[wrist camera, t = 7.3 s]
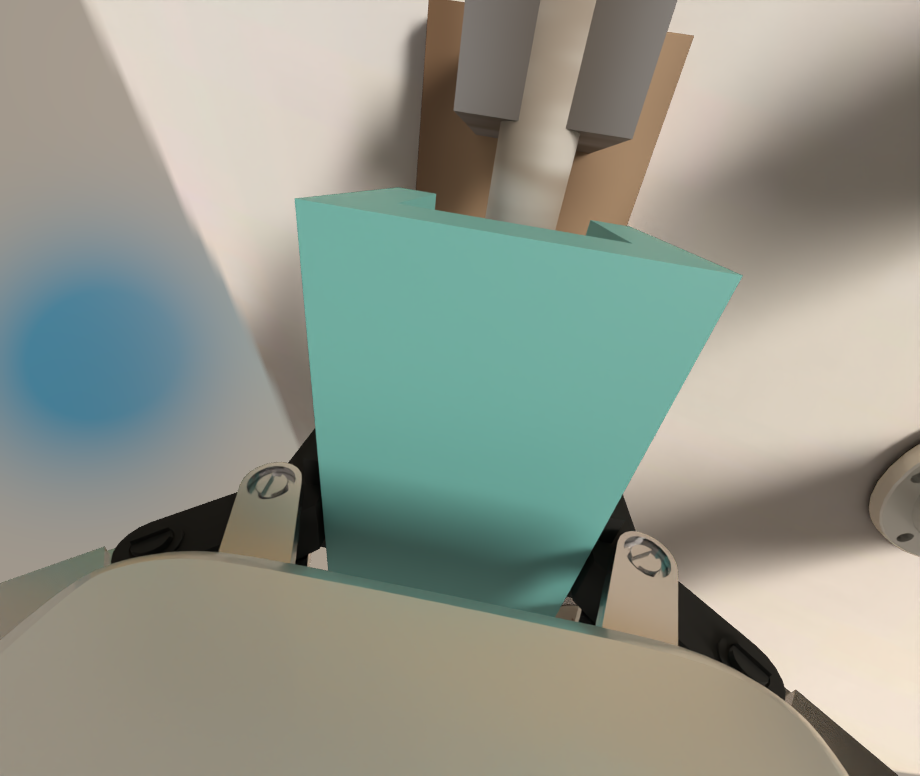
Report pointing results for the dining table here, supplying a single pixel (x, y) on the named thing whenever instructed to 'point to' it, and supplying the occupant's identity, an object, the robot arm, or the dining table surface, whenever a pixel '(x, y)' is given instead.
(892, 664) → the dining table surface
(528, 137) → the shaft stand
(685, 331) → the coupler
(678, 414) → the dining table surface
